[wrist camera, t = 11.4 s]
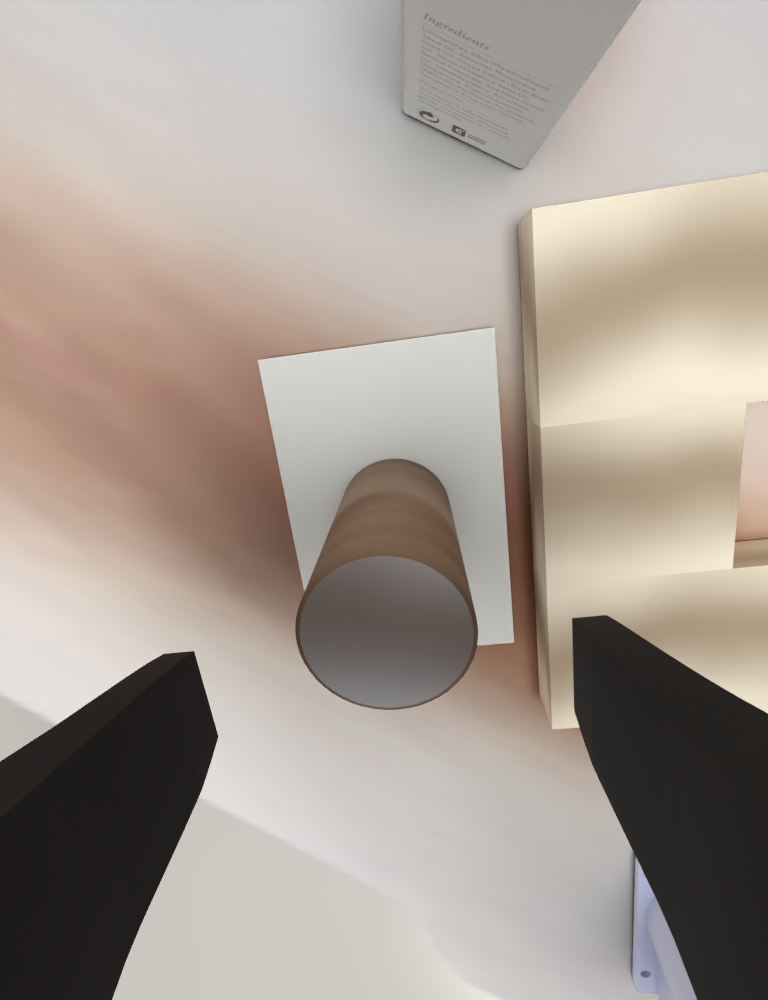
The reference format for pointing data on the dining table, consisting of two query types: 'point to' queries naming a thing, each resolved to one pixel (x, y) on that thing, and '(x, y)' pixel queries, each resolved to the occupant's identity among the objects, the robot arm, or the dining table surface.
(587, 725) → the robot arm
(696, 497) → the bore board
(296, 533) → the rubber mat
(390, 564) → the brown wooden cylinder
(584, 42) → the skincare box
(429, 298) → the dining table surface
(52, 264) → the dining table surface
